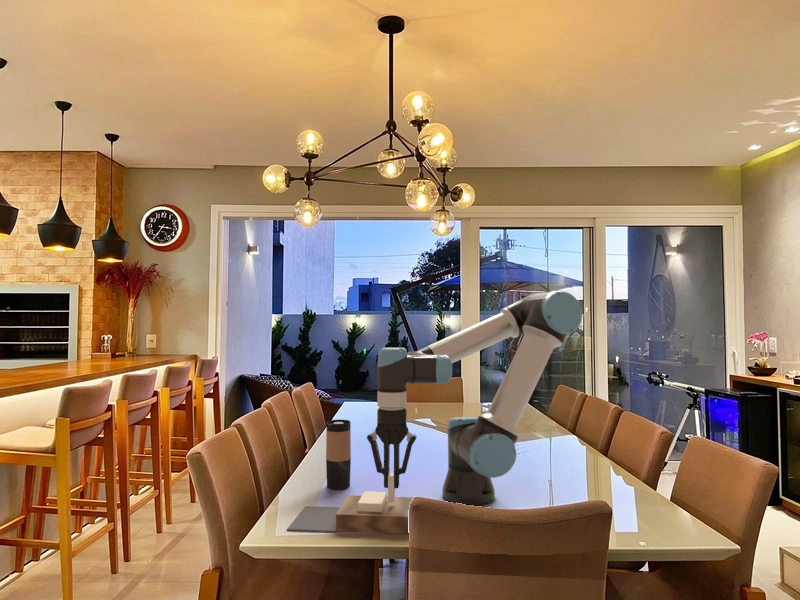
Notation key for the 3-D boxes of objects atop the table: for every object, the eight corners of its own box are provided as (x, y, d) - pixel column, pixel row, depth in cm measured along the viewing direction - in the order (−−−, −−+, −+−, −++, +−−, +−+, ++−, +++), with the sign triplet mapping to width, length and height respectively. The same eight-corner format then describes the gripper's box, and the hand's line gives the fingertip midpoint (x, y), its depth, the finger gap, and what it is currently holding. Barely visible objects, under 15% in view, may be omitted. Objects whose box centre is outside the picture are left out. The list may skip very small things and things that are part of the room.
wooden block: (421, 512, 138) (420, 497, 138) (417, 534, 124) (417, 517, 125) (347, 510, 140) (347, 495, 141) (335, 530, 126) (335, 514, 127)
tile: (386, 499, 137) (386, 492, 137) (381, 512, 128) (381, 503, 128) (364, 499, 138) (364, 491, 138) (357, 511, 129) (357, 503, 129)
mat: (348, 509, 141) (348, 507, 141) (334, 532, 125) (334, 530, 125) (305, 507, 143) (305, 506, 143) (286, 530, 127) (286, 529, 127)
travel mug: (351, 482, 165) (351, 419, 166) (350, 490, 157) (350, 423, 158) (327, 482, 165) (327, 419, 166) (324, 490, 157) (324, 424, 158)
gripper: (418, 405, 136) (417, 496, 135) (369, 404, 138) (368, 494, 137) (416, 410, 129) (415, 506, 128) (364, 409, 130) (363, 504, 129)
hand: (391, 500), depth 132 cm, fingers closed
